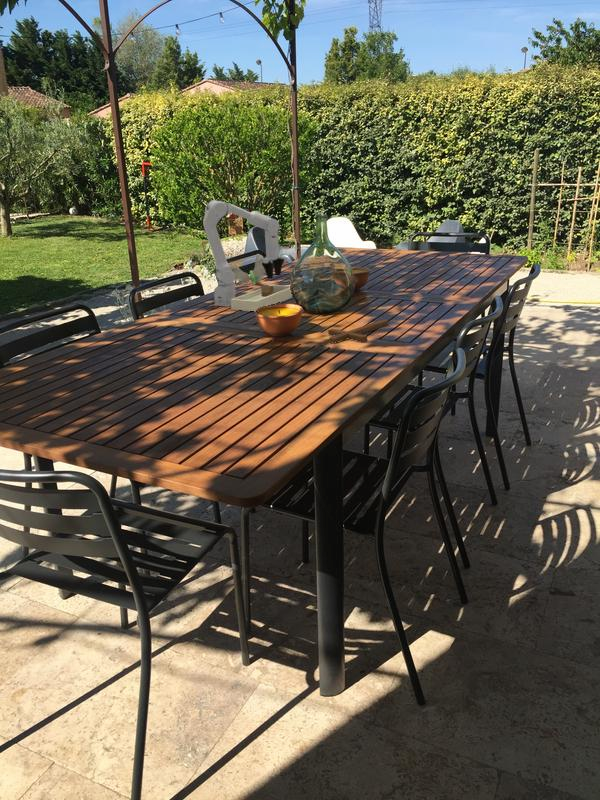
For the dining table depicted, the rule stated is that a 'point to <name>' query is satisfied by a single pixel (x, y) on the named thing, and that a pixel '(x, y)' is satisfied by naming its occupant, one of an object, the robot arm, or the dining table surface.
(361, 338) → the cross
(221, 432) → the dining table surface
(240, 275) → the decorative bird
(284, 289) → the trap box
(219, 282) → the robot arm
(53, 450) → the dining table surface
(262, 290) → the walnut block
